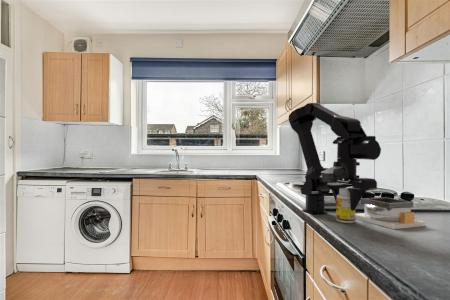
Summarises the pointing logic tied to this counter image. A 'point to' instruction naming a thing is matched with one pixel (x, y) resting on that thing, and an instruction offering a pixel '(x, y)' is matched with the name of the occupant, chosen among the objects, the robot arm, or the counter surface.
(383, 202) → the hollow square frame
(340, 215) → the supplement bottle
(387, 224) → the mount plate
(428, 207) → the counter surface
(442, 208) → the counter surface
